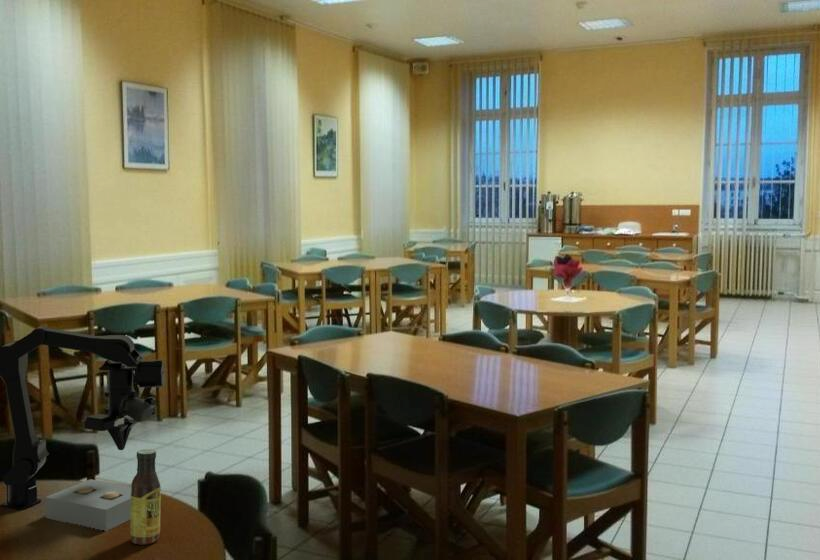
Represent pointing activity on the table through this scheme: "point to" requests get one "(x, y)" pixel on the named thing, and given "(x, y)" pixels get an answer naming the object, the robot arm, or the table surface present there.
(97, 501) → the board
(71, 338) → the robot arm
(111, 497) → the peg
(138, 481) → the sauce bottle
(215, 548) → the table surface
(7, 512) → the table surface
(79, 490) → the peg
